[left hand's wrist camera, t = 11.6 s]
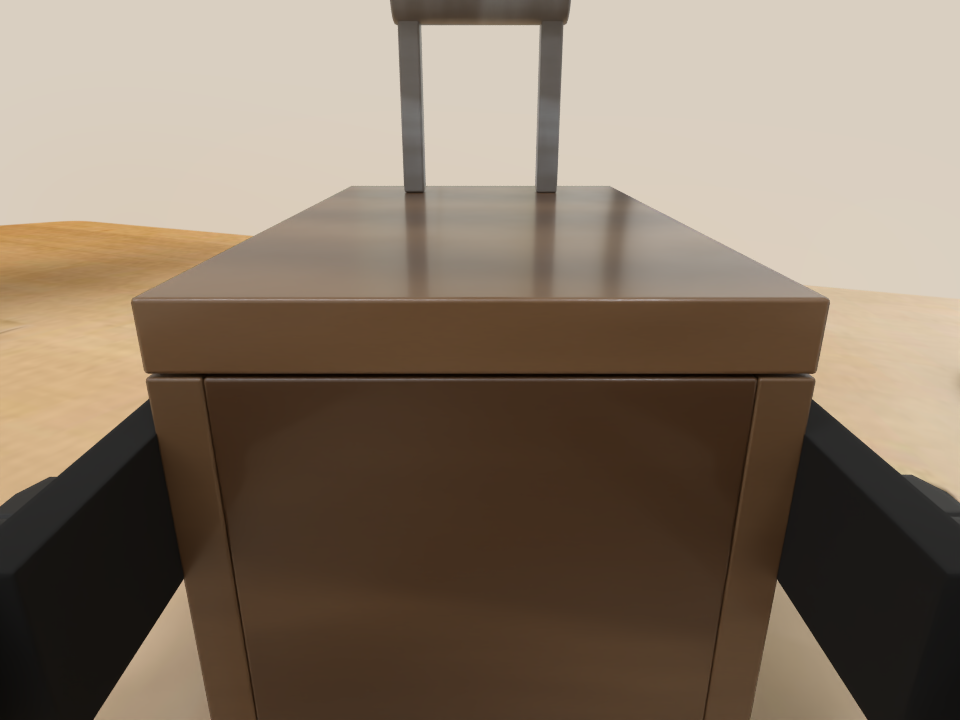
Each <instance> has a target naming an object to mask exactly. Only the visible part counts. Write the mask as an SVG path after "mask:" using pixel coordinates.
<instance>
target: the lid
mask: <svg viewBox="0 0 960 720" xmlns="http://www.w3.org/2000/svg"><path fill="white" fill-rule="evenodd" d="M390 4H391V12H392V17H393V21H394V23H395V24H396V25H398V41H399V67H400V92H401V118H402V143H403V168H404V186H351V187H349V188H347V189H345V190H343V191H341V192H339V193H337V194H335V195H333V196H331V197H329V198H327V199H325V200H323V201H321V202H320V203H318V204H316V205H314V206H312V207H310V208H308V209H306V210H304V211H302V212H300V213H298V214H296V215H294V216H292V217H290V218H288V219H287V220H284V221H282V222H281V223H279V224H277V225H275V226H273V227H271V228H269V229H267V230H265V231H263V232H261V233H259V234H257V235H255V236H253V237H251V238H249V239H247V240H245V241H244V242H242V243H240V244H238V245H236V246H234V247H232V248H230V249H228V250H226V251H224V252H222V253H220V254H218V255H216V256H214V257H212V258H210V259H208V260H206V261H205V262H203V263H201V264H199V265H197V266H195V267H193V268H191V269H189V270H187V271H185V272H183V273H181V274H179V275H177V276H175V277H173V278H171V279H169V280H167V281H166V282H164V283H162V284H160V285H158V286H156V287H154V288H152V289H150V290H148V291H146V292H144V293H142V294H140V295H138V296H136V297H134V298H132V302H131V304H132V309H133V315H134V320H135V325H136V330H137V336H138V341H139V346H140V351H141V356H142V362H143V367H144V371H145V372H146V373H148V374H813V373H815V372H816V371H817V367H818V361H819V356H820V351H821V346H822V341H823V336H824V330H825V325H826V320H827V315H828V310H829V304H830V302H829V299H828V298H826V297H824V296H823V295H821V294H819V293H817V292H815V291H813V290H811V289H809V288H807V287H805V286H803V285H801V284H799V283H797V282H795V281H793V280H791V279H789V278H787V277H785V276H784V275H782V274H780V273H778V272H776V271H774V270H772V269H770V268H768V267H766V266H764V265H762V264H760V263H758V262H756V261H754V260H752V259H750V258H748V257H747V256H745V255H743V254H741V253H739V252H737V251H735V250H733V249H731V248H729V247H727V246H725V245H723V244H721V243H719V242H717V241H715V240H713V239H712V238H709V237H708V236H706V235H704V234H702V233H700V232H698V231H696V230H694V229H692V228H690V227H688V226H686V225H684V224H682V223H680V222H678V221H676V220H674V219H673V218H671V217H669V216H667V215H665V214H663V213H661V212H659V211H657V210H655V209H653V208H651V207H649V206H647V205H645V204H643V203H641V202H639V201H637V200H636V199H634V198H632V197H630V196H628V195H626V194H624V193H622V192H620V191H618V190H616V189H614V188H612V187H610V186H557V169H558V144H559V118H560V94H561V69H562V43H563V25H565V24H566V23H567V21H568V17H569V12H570V4H571V0H390ZM421 25H540V40H539V75H538V109H537V145H536V180H535V186H426V183H425V148H424V113H423V77H422V42H421Z"/></svg>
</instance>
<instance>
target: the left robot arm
mask: <svg viewBox="0 0 960 720" xmlns="http://www.w3.org/2000/svg"><path fill="white" fill-rule="evenodd" d="M183 579H184V574H183V569H182V564H181V559H180V554H179V548H178V543H177V538H176V533H175V528H174V522H173V517H172V512H171V507H170V502H169V496H168V491H167V486H166V481H165V476H164V471H163V465H162V460H161V455H160V450H159V445H158V439H157V434H156V431H155V426H154V421H153V416H152V410H151V405H150V400H149V399H148V400H147V401H146V402H145V403H144V404H143V405H141V406H140V407H139V408H138V409H137V410H135V411H134V412H133V413H132V414H131V415H130V416H128V417H127V418H126V419H125V420H124V421H122V422H121V423H120V424H119V425H118V426H117V427H115V428H114V429H113V430H112V431H111V432H110V433H108V434H107V435H106V436H105V437H104V438H102V439H101V440H100V441H99V442H98V443H97V444H95V445H94V446H93V447H92V448H91V449H89V450H88V451H87V452H86V453H85V454H84V455H82V456H81V457H80V458H79V459H78V460H76V461H75V462H74V463H73V464H72V465H71V466H69V467H68V468H67V469H66V470H65V471H64V472H62V473H61V474H60V475H59V476H58V477H49V478H47V479H45V480H43V481H41V482H39V483H37V484H35V485H33V486H31V487H29V488H27V489H25V490H23V491H21V492H19V493H17V494H15V495H14V496H13V497H11V498H10V499H9V500H8V501H7V502H5V503H4V504H3V505H2V506H0V720H93V719H94V718H95V716H96V715H97V713H98V711H99V710H100V708H101V707H102V705H103V704H104V702H105V701H106V699H107V697H108V696H109V694H110V693H111V691H112V690H113V688H114V687H115V685H116V683H117V682H118V680H119V679H120V677H121V676H122V674H123V673H124V671H125V669H126V668H127V666H128V665H129V663H130V662H131V660H132V659H133V657H134V655H135V654H136V652H137V651H138V649H139V648H140V646H141V645H142V643H143V641H144V640H145V638H146V637H147V635H148V634H149V632H150V631H151V629H152V627H153V626H154V624H155V623H156V621H157V620H158V618H159V617H160V615H161V613H162V612H163V610H164V609H165V607H166V606H167V604H168V603H169V601H170V599H171V598H172V596H173V595H174V593H175V592H176V590H177V589H178V587H179V585H180V584H181V582H182V581H183ZM777 580H778V581H779V583H780V584H781V586H782V587H783V589H784V590H785V592H786V594H787V595H788V597H789V598H790V600H791V601H792V603H793V604H794V606H795V608H796V609H797V611H798V612H799V614H800V615H801V617H802V618H803V620H804V622H805V623H806V625H807V626H808V628H809V629H810V631H811V632H812V634H813V636H814V637H815V639H816V640H817V642H818V643H819V645H820V646H821V648H822V650H823V651H824V653H825V654H826V656H827V657H828V659H829V660H830V662H831V664H832V665H833V667H834V668H835V670H836V671H837V673H838V674H839V676H840V678H841V679H842V681H843V682H844V684H845V685H846V687H847V688H848V690H849V692H850V693H851V695H852V696H853V698H854V699H855V701H856V702H857V704H858V706H859V707H860V709H861V710H862V712H863V713H864V715H865V716H866V718H867V720H960V503H959V502H958V501H957V500H955V499H954V498H953V497H952V496H950V495H949V494H948V493H947V492H945V491H943V490H941V489H939V488H937V487H935V486H933V485H931V484H929V483H927V482H925V481H923V480H921V479H919V478H917V477H915V476H913V475H901V474H900V473H898V472H897V471H896V470H895V469H894V468H893V467H891V466H890V465H889V464H888V463H887V462H886V461H884V460H883V459H882V458H881V457H880V456H878V455H877V454H876V453H875V452H874V451H873V450H871V449H870V448H869V447H868V446H867V445H865V444H864V443H863V442H862V441H861V440H860V439H858V438H857V437H856V436H855V435H854V434H852V433H851V432H850V431H849V430H848V429H847V428H845V427H844V426H843V425H842V424H841V423H840V422H838V421H837V420H836V419H835V418H834V417H832V416H831V415H830V414H829V413H828V412H827V411H825V410H824V409H823V408H822V407H821V406H819V405H818V404H817V403H816V402H815V401H814V400H812V401H811V406H810V412H809V417H808V422H807V427H806V432H805V435H804V440H803V445H802V451H801V456H800V461H799V466H798V471H797V477H796V482H795V487H794V492H793V497H792V502H791V508H790V513H789V518H788V523H787V528H786V533H785V539H784V544H783V549H782V554H781V559H780V565H779V570H778V575H777Z"/></svg>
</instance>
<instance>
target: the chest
mask: <svg viewBox="0 0 960 720" xmlns="http://www.w3.org/2000/svg"><path fill="white" fill-rule="evenodd" d="M146 384H147V390H148V395H149V400H150V405H151V410H152V416H153V421H154V426H155V431H156V434H157V439H158V445H159V450H160V455H161V460H162V465H163V471H164V476H165V481H166V486H167V491H168V496H169V502H170V507H171V512H172V517H173V522H174V528H175V533H176V538H177V543H178V548H179V554H180V559H181V564H182V569H183V574H184V582H185V587H186V592H187V597H188V602H189V608H190V613H191V618H192V623H193V628H194V633H195V639H196V644H197V649H198V654H199V659H200V665H201V670H202V675H203V680H204V685H205V691H206V696H207V701H208V706H209V711H210V716H211V720H750V717H751V711H752V706H753V701H754V696H755V691H756V686H757V680H758V675H759V670H760V665H761V660H762V655H763V649H764V644H765V639H766V634H767V629H768V624H769V618H770V613H771V608H772V603H773V598H774V592H775V587H776V582H777V575H778V570H779V565H780V559H781V554H782V549H783V544H784V539H785V533H786V528H787V523H788V518H789V513H790V508H791V502H792V497H793V492H794V487H795V482H796V477H797V471H798V466H799V461H800V456H801V451H802V445H803V440H804V435H805V432H806V427H807V422H808V417H809V412H810V406H811V401H812V396H813V391H814V386H815V378H813V377H812V376H811V375H809V374H152V375H150V376H149V377H148V378H147V379H146Z"/></svg>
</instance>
